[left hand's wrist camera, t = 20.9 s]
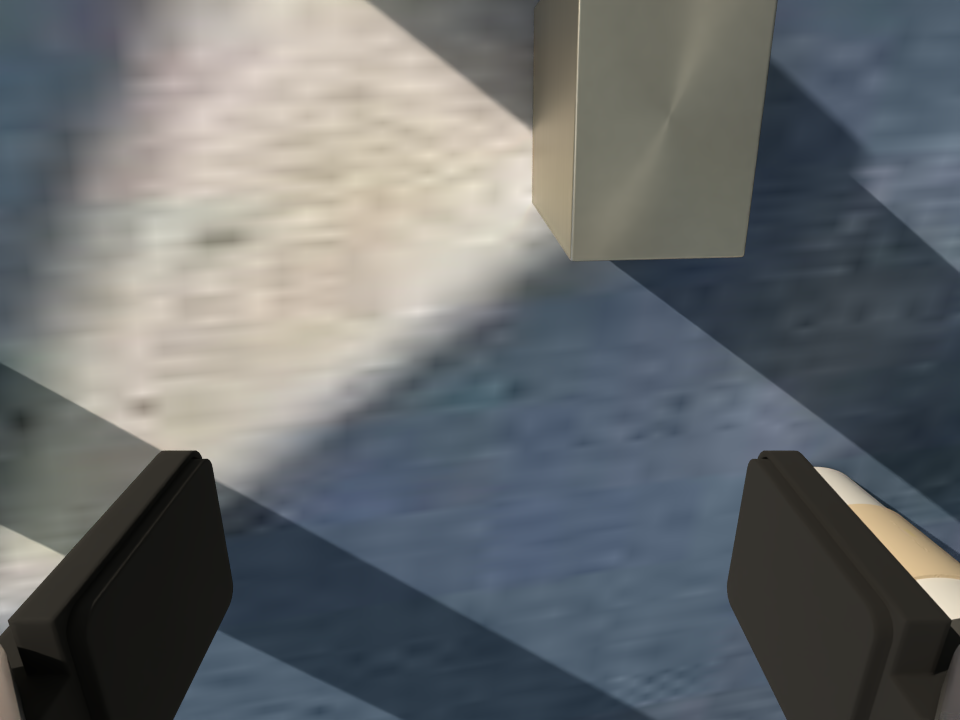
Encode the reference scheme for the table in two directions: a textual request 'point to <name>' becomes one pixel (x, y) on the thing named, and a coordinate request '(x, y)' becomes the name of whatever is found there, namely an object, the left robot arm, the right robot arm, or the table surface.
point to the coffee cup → (905, 544)
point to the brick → (648, 124)
